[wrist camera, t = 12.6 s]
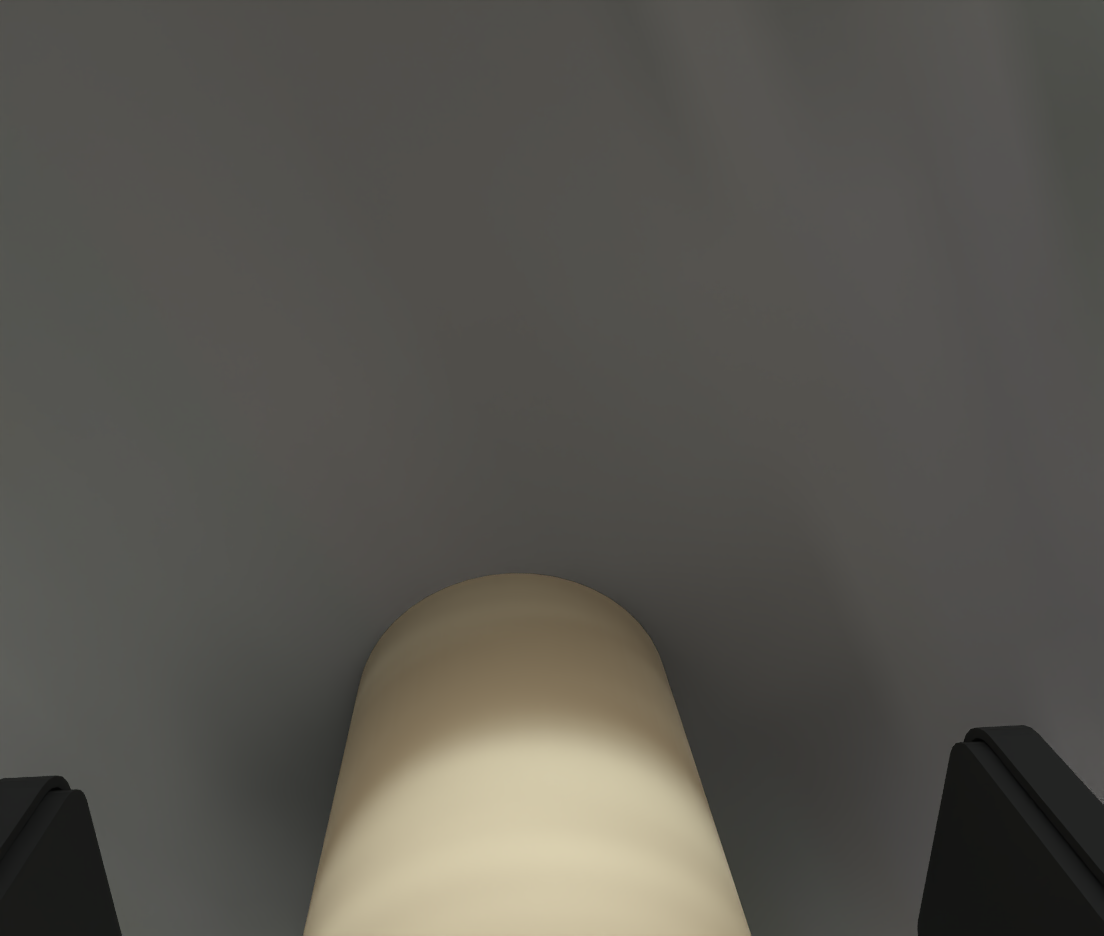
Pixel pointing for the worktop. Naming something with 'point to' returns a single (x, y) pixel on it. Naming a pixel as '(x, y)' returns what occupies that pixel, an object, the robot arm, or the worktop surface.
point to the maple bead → (519, 779)
